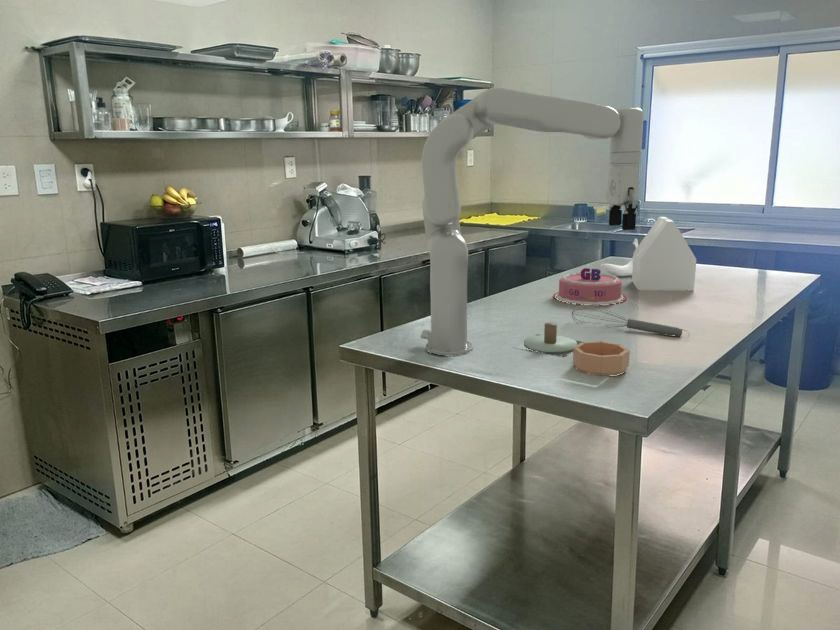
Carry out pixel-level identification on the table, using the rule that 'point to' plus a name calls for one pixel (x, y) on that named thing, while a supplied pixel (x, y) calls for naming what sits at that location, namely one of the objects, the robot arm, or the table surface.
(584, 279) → the cake
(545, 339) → the lid
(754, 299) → the table surface
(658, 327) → the kitchen whisk
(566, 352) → the mat
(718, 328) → the table surface
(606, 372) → the bowl
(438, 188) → the robot arm
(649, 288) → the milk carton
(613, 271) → the white curved piece
